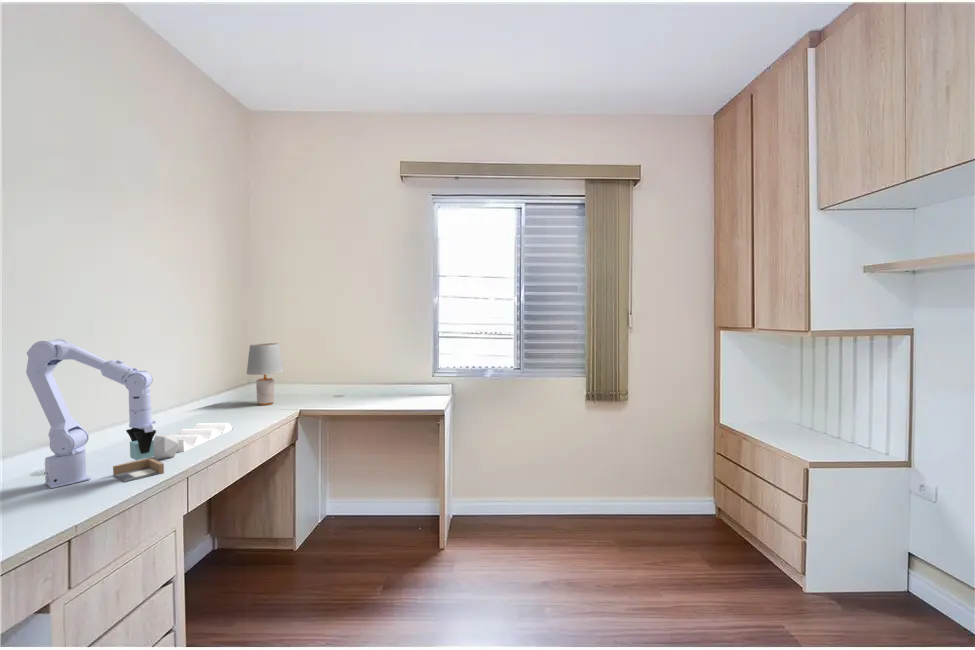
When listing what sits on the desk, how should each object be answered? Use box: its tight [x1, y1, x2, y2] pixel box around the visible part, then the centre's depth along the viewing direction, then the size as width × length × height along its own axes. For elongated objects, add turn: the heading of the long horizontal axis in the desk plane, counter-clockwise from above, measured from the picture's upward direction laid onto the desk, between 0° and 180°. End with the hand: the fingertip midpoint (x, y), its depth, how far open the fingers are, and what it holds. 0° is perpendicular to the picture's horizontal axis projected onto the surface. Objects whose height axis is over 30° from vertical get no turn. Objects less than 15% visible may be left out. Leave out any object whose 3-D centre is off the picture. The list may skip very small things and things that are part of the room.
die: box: [152, 433, 179, 461], centre depth 175 cm, size 8×9×10 cm
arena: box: [112, 457, 165, 483], centre depth 156 cm, size 10×11×3 cm
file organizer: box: [174, 422, 234, 453], centre depth 199 cm, size 13×35×5 cm, turn 0°
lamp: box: [246, 342, 284, 406], centre depth 276 cm, size 19×19×34 cm
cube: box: [129, 439, 155, 461], centre depth 156 cm, size 5×5×5 cm
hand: (141, 451), depth 156 cm, fingers closed on cube, 5 cm apart
